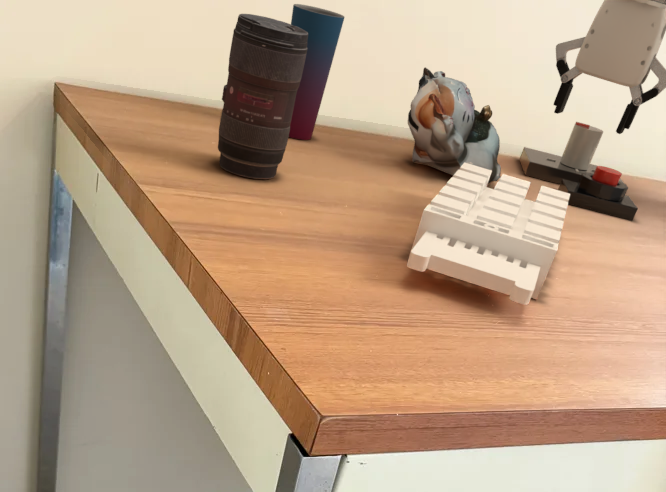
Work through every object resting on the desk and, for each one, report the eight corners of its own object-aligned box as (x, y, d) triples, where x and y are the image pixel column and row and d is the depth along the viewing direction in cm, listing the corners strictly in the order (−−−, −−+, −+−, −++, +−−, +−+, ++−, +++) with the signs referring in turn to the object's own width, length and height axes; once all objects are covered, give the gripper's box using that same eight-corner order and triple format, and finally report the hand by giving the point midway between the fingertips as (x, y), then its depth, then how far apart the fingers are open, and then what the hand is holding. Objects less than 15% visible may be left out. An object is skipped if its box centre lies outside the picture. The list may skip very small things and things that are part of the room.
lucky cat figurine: (504, 194, 112) (502, 90, 101) (414, 209, 115) (403, 110, 104) (496, 136, 121) (494, 36, 110) (413, 152, 124) (403, 55, 113)
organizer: (570, 193, 98) (551, 275, 71) (553, 234, 101) (529, 327, 74) (464, 162, 100) (406, 229, 73) (451, 202, 103) (390, 282, 76)
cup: (325, 139, 117) (353, 17, 108) (302, 143, 112) (329, 16, 103) (286, 125, 119) (309, 4, 110) (261, 128, 115) (283, 2, 105)
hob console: (608, 182, 134) (615, 168, 132) (620, 200, 125) (627, 185, 124) (519, 159, 134) (524, 145, 133) (524, 175, 125) (530, 160, 124)
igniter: (623, 207, 121) (634, 183, 119) (632, 220, 115) (644, 195, 113) (557, 190, 121) (567, 165, 119) (563, 202, 116) (573, 177, 113)
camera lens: (234, 181, 92) (260, 26, 82) (201, 157, 97) (222, 9, 87) (294, 183, 96) (325, 36, 86) (259, 161, 101) (285, 19, 91)
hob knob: (585, 165, 130) (601, 126, 126) (589, 172, 126) (606, 131, 123) (558, 159, 130) (574, 119, 126) (561, 165, 126) (577, 124, 123)
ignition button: (614, 183, 118) (619, 170, 117) (618, 189, 115) (624, 176, 114) (589, 176, 118) (594, 163, 117) (593, 182, 115) (598, 169, 114)
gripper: (708, 7, 114) (647, 138, 125) (589, -25, 119) (540, 103, 130) (703, 6, 109) (640, 143, 119) (579, -28, 114) (528, 106, 124)
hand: (588, 122), depth 125 cm, fingers open, 9 cm apart
